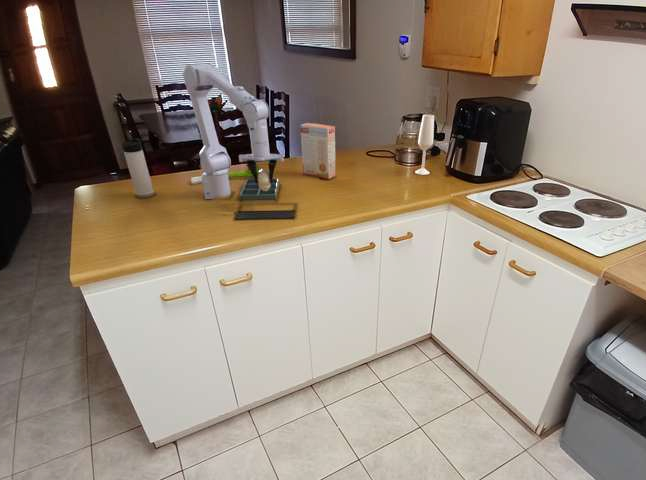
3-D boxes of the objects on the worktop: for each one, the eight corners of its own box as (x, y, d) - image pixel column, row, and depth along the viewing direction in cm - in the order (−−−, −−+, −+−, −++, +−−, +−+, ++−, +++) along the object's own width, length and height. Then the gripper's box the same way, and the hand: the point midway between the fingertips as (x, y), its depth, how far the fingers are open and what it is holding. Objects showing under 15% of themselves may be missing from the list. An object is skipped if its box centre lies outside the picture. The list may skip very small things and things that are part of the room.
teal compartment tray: (240, 202, 151) (239, 195, 149) (247, 185, 167) (246, 178, 166) (276, 202, 152) (275, 194, 150) (279, 185, 168) (279, 178, 166)
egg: (258, 192, 140) (255, 171, 136) (259, 188, 143) (257, 168, 139) (270, 192, 140) (268, 171, 136) (272, 187, 143) (270, 167, 140)
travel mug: (158, 193, 158) (144, 139, 147) (145, 199, 153) (129, 143, 142) (146, 191, 160) (132, 137, 149) (133, 196, 155) (116, 141, 144)
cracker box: (336, 176, 178) (335, 125, 167) (328, 180, 174) (327, 128, 162) (310, 171, 184) (308, 121, 173) (302, 174, 180) (299, 124, 168)
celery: (194, 184, 172) (265, 175, 177) (193, 192, 167) (266, 182, 171) (190, 171, 168) (262, 161, 172) (189, 178, 163) (263, 168, 167)
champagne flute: (413, 173, 183) (418, 116, 170) (417, 169, 189) (422, 113, 175) (427, 175, 181) (434, 117, 168) (431, 171, 187) (438, 114, 173)
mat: (235, 219, 138) (234, 218, 137) (241, 204, 149) (241, 203, 149) (294, 218, 139) (294, 217, 139) (295, 203, 151) (295, 202, 150)
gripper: (235, 144, 129) (241, 186, 136) (281, 144, 130) (284, 186, 137) (238, 139, 134) (244, 180, 142) (282, 139, 135) (285, 179, 143)
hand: (264, 182), depth 140 cm, fingers closed on egg, 4 cm apart
